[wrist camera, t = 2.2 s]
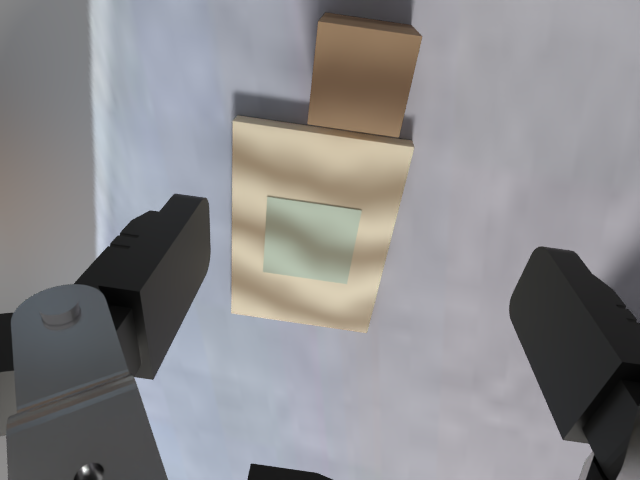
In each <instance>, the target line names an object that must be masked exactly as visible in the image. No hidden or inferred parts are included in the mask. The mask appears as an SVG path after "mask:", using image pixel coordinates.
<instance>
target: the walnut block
mask: <svg viewBox="0 0 640 480" xmlns="http://www.w3.org/2000/svg"><path fill="white" fill-rule="evenodd" d="M421 40H422V36H421V35H420V34H419V32H418V31H417V30H416V29H415V28H414V27H413V26H412V25H408V24H401V23H394V22H387V21H380V20H374V19H367V18H360V17H353V16H346V15H339V14H332V13H326V12H325V14H324V15H323V16H322V17H321V19H320V20H319V21H318V29H317V38H316V47H315V57H314V66H313V76H312V85H311V94H310V104H309V113H308V123H307V124H309V125H316V126H322V127H329V128H336V129H343V130H350V131H357V132H364V133H370V134H377V135H384V136H391V137H398V138H399V135H400V130H401V126H402V122H403V117H404V113H405V109H406V104H407V100H408V96H409V92H410V87H411V83H412V79H413V74H414V70H415V66H416V61H417V57H418V53H419V48H420V44H421Z"/></svg>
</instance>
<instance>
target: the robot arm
mask: <svg viewBox="0 0 640 480" xmlns="http://www.w3.org/2000/svg"><path fill="white" fill-rule="evenodd" d="M209 262H210V218H209V203H208V200H207V198H203V197H196V196H189V195H182V194H174V195H173V196H172V197H171V198H170V199H169V201H168V202H167V203H166V204H165V205H164V207H163V208H162V209H161V210H160V211H159V212H157V211H148V212H146V213H144V214H143V215H141V216H139V217H137V218H135V219H133V220H131V221H130V223H129V224H128V225H127V226H126V227H125V228H124V229H123V230H122V231H121V232H120V236H117V237H116V238H115V239H114V240H113V241H112V242H111V243H110V247H109V246H108V247H107V248H106V249H105V250H104V251H103V252H102V253H101V254H100V256H99V257H98V258H97V259H96V260H95V261H94V262H93V263H92V264H91V265H90V267H89V268H88V269H87V270H86V271H85V272H84V273H83V274H82V275H81V276H80V278H79V279H78V280H77V281H76V282H75V283H74V284H70V285H69V284H68V285H61V286H56V287H52V288H48V289H46V290H43V291H40V292H39V293H37V294H34V295H33V296H31V297H29V298H28V299H26V300H25V301H24V302H23V303H22V304H20V305H19V306H18V308H17V309H16V310H15V312H14V313H4V314H0V436H4V435H6V439H7V440H6V441H7V464H8V480H168V478H167V475H166V472H165V469H164V466H163V463H162V460H161V457H160V454H159V451H158V448H157V445H156V442H155V439H154V436H153V433H152V430H151V427H150V424H149V421H148V418H147V414H146V411H145V408H144V405H143V402H142V399H141V396H140V393H139V390H138V387H137V384H136V381H135V379H134V377H138V378H145V379H152V380H153V379H154V377H155V375H156V373H157V371H158V369H159V367H160V365H161V363H162V361H163V359H164V357H165V355H166V353H167V351H168V349H169V347H170V346H171V344H172V342H173V340H174V338H175V336H176V334H177V332H178V330H179V328H180V326H181V324H182V322H183V320H184V318H185V316H186V314H187V312H188V310H189V308H190V306H191V304H192V302H193V300H194V298H195V296H196V294H197V292H198V290H199V288H200V286H201V284H202V282H203V280H204V278H205V276H206V273H207V270H208V267H209ZM625 307H626V306H625V304H624V303H623V302H622V300H621V299H620V298H619V297H618V295H617V294H616V293H615V292H614V290H613V289H611V288H610V287H609V286H608V285H606V284H605V283H604V282H602V281H601V280H600V279H598V278H597V277H596V276H595V275H593V274H592V273H591V272H590V270H589V269H588V268H587V267H586V265H585V264H584V263H583V261H582V260H581V259H580V257H579V256H578V255H577V254H576V253H575V252H574V251H570V250H563V249H556V248H549V247H538V248H536V249H535V250H534V251H533V253H532V255H531V256H530V259H529V261H528V263H527V265H526V267H525V269H524V271H523V273H522V275H521V277H520V279H519V281H518V283H517V285H516V287H515V290H514V292H513V294H512V296H511V299H510V305H509V313H510V319H511V321H512V324H513V326H514V328H515V331H516V333H517V335H518V338H519V340H520V342H521V344H522V347H523V349H524V351H525V354H526V356H527V358H528V361H529V363H530V365H531V368H532V370H533V372H534V374H535V377H536V379H537V381H538V384H539V386H540V388H541V391H542V393H543V395H544V398H545V400H546V402H547V404H548V407H549V409H550V411H551V414H552V416H553V418H554V421H555V423H556V425H557V428H558V430H559V432H560V434H561V437H562V439H563V440H567V441H574V442H581V443H588V444H590V446H591V449H592V451H593V452H592V453H591V454H590V455H589V456H588V457H587V459H586V460H585V462H584V465H583V468H582V471H581V474H580V476H579V479H578V480H640V323H636V320H637V319H636V318H635V317H634V316H633V314H632V313H631V312H630V311H629V309H626V308H625ZM248 480H332V479H330V478H328V477H325V476H323V475H321V474H318V473H314V472H307V471H300V470H293V469H286V468H279V467H272V466H265V465H258V464H251V466H250V470H249V475H248Z"/></svg>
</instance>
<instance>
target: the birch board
mask: <svg viewBox="0 0 640 480" xmlns="http://www.w3.org/2000/svg"><path fill="white" fill-rule="evenodd" d="M413 151H414V144H413V141H411V140H404V139H397V138H391V137H384V136H377V135H370V134H363V133H356V132H349V131H342V130H335V129H329V128H322V127H315V126H308V125H301V124H294V123H287V122H280V121H274V120H267V119H260V118H253V117H246V116H239V115H237V116H236V118H235V119H234V120H233V153H232V305H231V313H233V314H240V315H246V316H253V317H260V318H267V319H274V320H281V321H288V322H294V323H301V324H308V325H315V326H322V327H329V328H335V329H342V330H349V331H356V332H363V333H367V331H368V327H369V323H370V319H371V315H372V311H373V307H374V303H375V299H376V295H377V292H378V288H379V284H380V280H381V276H382V272H383V268H384V264H385V260H386V256H387V252H388V249H389V245H390V241H391V237H392V233H393V229H394V225H395V221H396V217H397V213H398V210H399V206H400V202H401V198H402V194H403V190H404V186H405V182H406V178H407V174H408V170H409V167H410V163H411V159H412V155H413Z"/></svg>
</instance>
